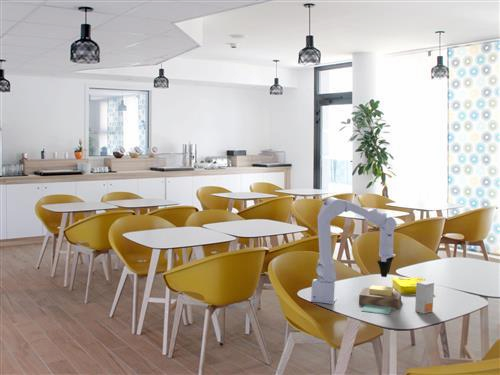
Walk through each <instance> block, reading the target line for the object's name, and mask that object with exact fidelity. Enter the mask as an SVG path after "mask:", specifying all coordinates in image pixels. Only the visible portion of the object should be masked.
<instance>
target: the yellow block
mask: <svg viewBox="0 0 500 375" xmlns="http://www.w3.org/2000/svg"><path fill="white" fill-rule="evenodd" d="M368 288H369V293H371V294H380V295H388V296H391V295H392V292H393V291H394V287H391V286H381V285H374V284H371V286H370V287H368Z"/></svg>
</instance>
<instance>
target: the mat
mask: <svg viewBox="0 0 500 375" xmlns="http://www.w3.org/2000/svg"><path fill="white" fill-rule="evenodd" d="M392 309H393V308H392V307H384V306H376V305H368V304H365V305H363V307H362V309H361V310H360V311H361V312H365V313H366V312H367V313H374V314H381V315H390V314H391V312H392Z"/></svg>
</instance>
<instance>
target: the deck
mask: <svg viewBox="0 0 500 375" xmlns="http://www.w3.org/2000/svg"><path fill="white" fill-rule="evenodd" d="M369 288H370V287H363V288H362V290H361V291H360V293H359V295H358V304H359V305H363V306H364V305H365V304H368V305H376V306H384V307H392V309H397V310H399V308H400V305H401V302H402V294H401V293H402V292H399V291H397V290H393V292H392V295H391V296H388V295H380V294H371V293H369Z"/></svg>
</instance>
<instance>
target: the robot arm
mask: <svg viewBox="0 0 500 375" xmlns="http://www.w3.org/2000/svg"><path fill="white" fill-rule="evenodd" d="M321 205H322V206H321V207H320V211H319V213H318V214H317V216H316V217H317V232H318V233H317V237H318V252H319V258H318V260H317V266H316V269H315V271H316V274H317V275H318V276H317V278H314V279H312V282H311V294H310V295H311V297H310V298H311V299H310V301H311V302H315V303H321V304H323V303H324V304H329V305H333V304H334V303H335V301H337V300H338V299H337V297H335V288H336V287H335V285H336V279H337V275H338V272H337V269H336V268H335V262H334V260H333V251H332V248H333V247H332V231H331V222H332V220H334V219H335V218H337V217H338V216H340V215H342V214H343V213H344V212H345V213H347V212H352V213H353V214H354V213H355V214H356V215H360V216H361V217H364V220H365V221H366V222H367V223H370V224H372V225H374V226H377V227H379V251H378V256H379V257H380V259H377V262H376V263H377V264H378V266H379V272H380V276H381V277H382V278H388V277H387V276H388V274H389V273H390V270H391V265H392V262H393V260H394V258H395V257H396V255H397V254H394V233H395V229H396V227H397V225H398V223H396V222H397V221H396V220H395V219H394V217H391V216H388V215H387V213H385V212H384V213H382V212H380V211H378V209H376V208H369V209H366V208H364V207H361V206H359V205H357V204H355V203H353V202H351V201H348V200H345V199H340V198H336V197H335V196H330V197H327V198H326V199H325V200H324V201H323V202H322V204H321Z"/></svg>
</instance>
